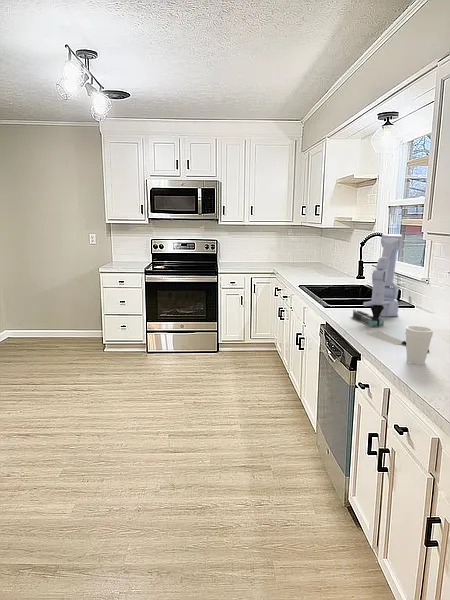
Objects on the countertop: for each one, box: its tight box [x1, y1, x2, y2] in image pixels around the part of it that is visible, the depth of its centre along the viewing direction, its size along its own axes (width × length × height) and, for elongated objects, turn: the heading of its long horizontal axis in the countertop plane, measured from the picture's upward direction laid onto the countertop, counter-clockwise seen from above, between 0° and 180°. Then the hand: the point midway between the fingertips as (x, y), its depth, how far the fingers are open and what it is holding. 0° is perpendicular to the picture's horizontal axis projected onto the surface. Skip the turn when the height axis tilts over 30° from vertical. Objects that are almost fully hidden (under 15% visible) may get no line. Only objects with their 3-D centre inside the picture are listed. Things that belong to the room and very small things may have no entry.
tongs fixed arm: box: [352, 312, 378, 328], centre depth 235 cm, size 19×3×3 cm, turn 15°
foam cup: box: [405, 325, 434, 365], centre depth 174 cm, size 10×9×13 cm
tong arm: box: [352, 309, 385, 327], centre depth 237 cm, size 22×4×3 cm, turn 16°
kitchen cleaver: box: [366, 330, 430, 354], centre depth 201 cm, size 31×2×10 cm
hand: (375, 319), depth 235 cm, fingers closed
